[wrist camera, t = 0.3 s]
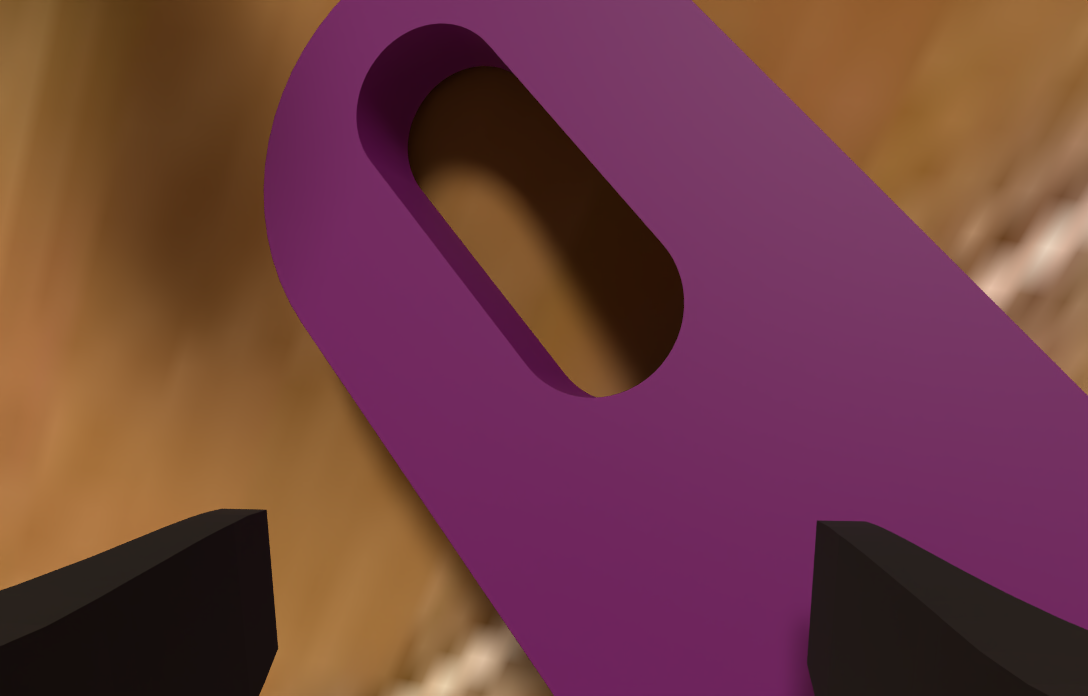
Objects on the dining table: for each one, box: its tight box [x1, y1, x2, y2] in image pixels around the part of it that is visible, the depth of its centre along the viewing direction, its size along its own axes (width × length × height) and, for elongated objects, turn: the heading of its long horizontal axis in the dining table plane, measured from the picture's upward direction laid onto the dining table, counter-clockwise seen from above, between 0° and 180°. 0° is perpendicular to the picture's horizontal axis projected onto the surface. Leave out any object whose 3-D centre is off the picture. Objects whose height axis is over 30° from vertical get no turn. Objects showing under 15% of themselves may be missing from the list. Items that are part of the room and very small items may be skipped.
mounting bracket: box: [264, 0, 1088, 696], centre depth 19 cm, size 10×8×18 cm
